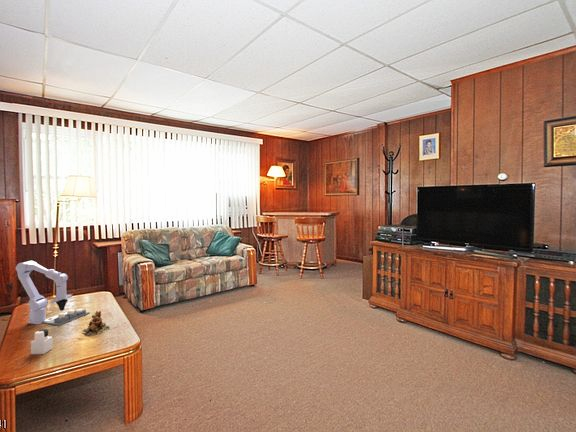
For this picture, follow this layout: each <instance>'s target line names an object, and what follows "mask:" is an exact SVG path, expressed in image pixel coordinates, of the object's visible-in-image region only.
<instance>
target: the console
mask: <svg viewBox="0 0 576 432" xmlns="http://www.w3.org/2000/svg"><path fill="white" fill-rule="evenodd" d="M73 310H74V309H73ZM63 313H65V318H62V319H58V314H55V315H53V316H50V317H46V320H44V321H43V322H42V323H41V324H44V325H53V326H61V325H64V324H66V323H69V322H72V321H74V320H76V319H79V318H82V317H84V316H86V315H90V312H89V311H87V310H86V309H83V311H81V312H76V310H74V314H73V315H67V311H63Z"/></svg>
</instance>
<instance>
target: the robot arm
mask: <svg viewBox="0 0 576 432" xmlns="http://www.w3.org/2000/svg"><path fill="white" fill-rule="evenodd" d="M15 271H16V272H17V277H18V279H19V281H20V283H21V286H23V288H24V291H25V292H26V294H27V295H28V297H29V300H28V306H29V309H30V311H29V314H28V322H27V324H30V325H31V324H32V325H41V324H43V323H42V322H43V321H44V320H46V319H47V313H46V312H47V310H46V309H47V306H48V304H49V301H48V299H47V298H45V296H43V295H41V294H40V293H39V291H38V289H37V288H36V286H35V284H34V282H33V280H32V278H31V277H30V274H31V273H32V271H36V272H39V273H41V274H44V276H45V277H46V278H48V279H51V280H52V281H54V283H55V287H56V289H55V290H56V297H55V298H53V299H51V300H50V304H55V303H56V304H57V306H58V308H59V311H61V312H62V311H63V312H64V310H65V307H66V305H67V303H68V299H70V298H73V294H67V281H68V280H69V275H68V274H67V273H65V272H64V273H62V272H59V271H56V270H55V269H53V268H50V269H47V268H46V267H44V266H42V265H41V264H39V263H37V261H34V260H28V261H24V262H19V263H18V264H16V267H15Z"/></svg>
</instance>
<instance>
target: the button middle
mask: <svg viewBox="0 0 576 432" xmlns="http://www.w3.org/2000/svg"><path fill="white" fill-rule="evenodd" d="M66 312H67V315H73V314H74V309H68V310H66Z"/></svg>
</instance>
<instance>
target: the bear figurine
mask: <svg viewBox="0 0 576 432" xmlns="http://www.w3.org/2000/svg"><path fill="white" fill-rule="evenodd" d="M101 316H102V312H101V310H100V311H97V310H96V311H95V313H94V314H93V315H91V318H92V319H91V320H90V321H89V323H88V325H87V328H84V329H83V330H82V333H83V334H85V335H87V336H90V337H91V336H94V335H99V334H101V333H105V332H106V331H108V330H109V329H111V327H110V325H106V323H105V322H103V319H102V317H101Z"/></svg>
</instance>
